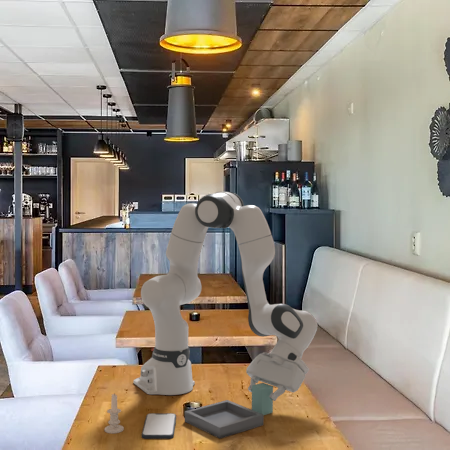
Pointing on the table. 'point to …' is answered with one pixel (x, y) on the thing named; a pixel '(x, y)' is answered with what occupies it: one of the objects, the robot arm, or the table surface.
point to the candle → (114, 417)
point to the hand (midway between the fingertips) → (260, 395)
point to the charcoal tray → (224, 418)
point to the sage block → (262, 398)
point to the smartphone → (159, 426)
